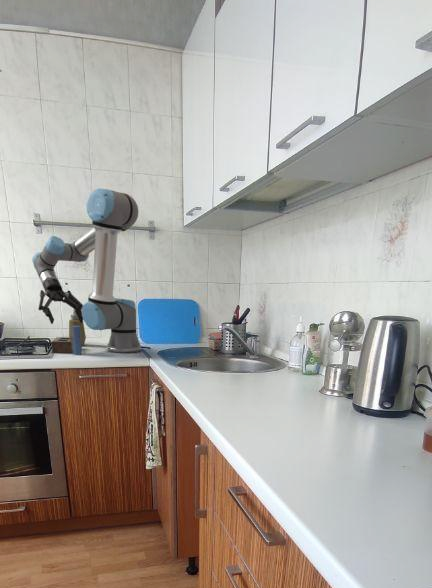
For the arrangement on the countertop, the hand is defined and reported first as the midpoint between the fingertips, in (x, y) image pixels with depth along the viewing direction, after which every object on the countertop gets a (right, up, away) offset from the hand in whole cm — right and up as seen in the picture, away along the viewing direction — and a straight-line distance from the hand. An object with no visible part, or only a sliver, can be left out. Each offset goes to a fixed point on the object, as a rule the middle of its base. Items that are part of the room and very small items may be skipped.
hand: (67, 321), depth 207 cm
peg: (+5, -15, -1) cm, 16 cm away
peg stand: (-4, -11, +7) cm, 14 cm away
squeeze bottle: (-2, -5, +23) cm, 24 cm away
